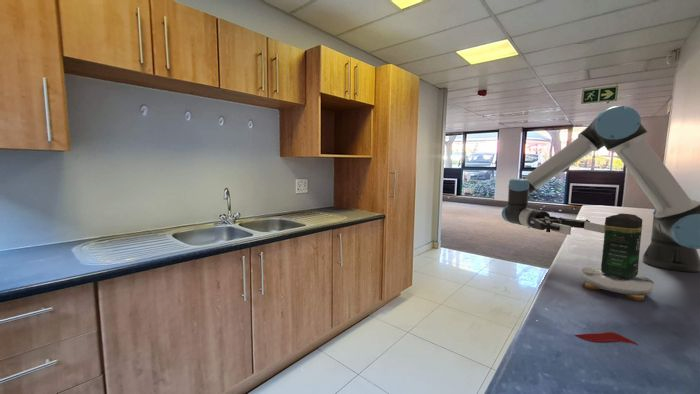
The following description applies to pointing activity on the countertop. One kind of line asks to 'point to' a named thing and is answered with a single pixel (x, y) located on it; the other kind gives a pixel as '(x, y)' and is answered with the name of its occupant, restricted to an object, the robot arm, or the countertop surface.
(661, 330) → the countertop surface
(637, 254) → the coffee jar
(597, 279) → the plate
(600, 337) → the curved red sliver
